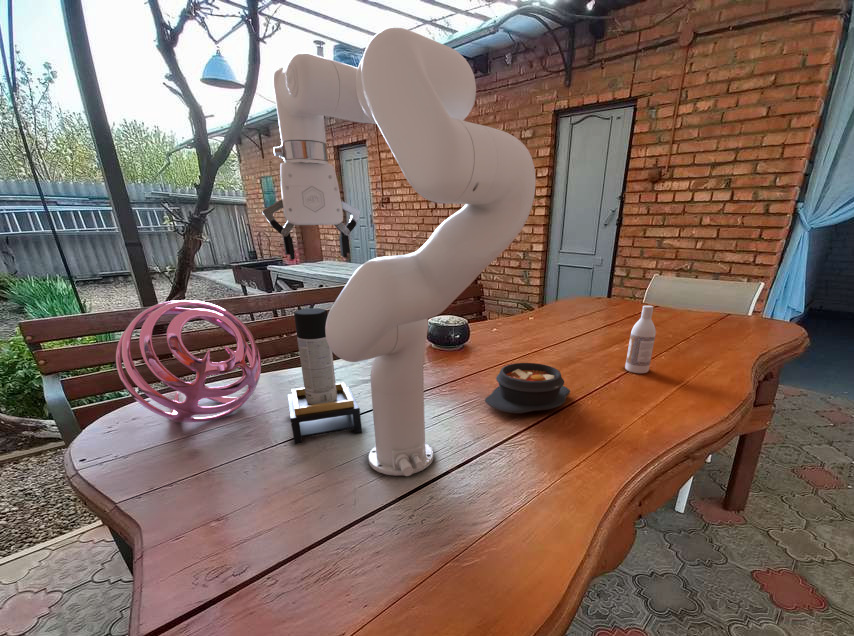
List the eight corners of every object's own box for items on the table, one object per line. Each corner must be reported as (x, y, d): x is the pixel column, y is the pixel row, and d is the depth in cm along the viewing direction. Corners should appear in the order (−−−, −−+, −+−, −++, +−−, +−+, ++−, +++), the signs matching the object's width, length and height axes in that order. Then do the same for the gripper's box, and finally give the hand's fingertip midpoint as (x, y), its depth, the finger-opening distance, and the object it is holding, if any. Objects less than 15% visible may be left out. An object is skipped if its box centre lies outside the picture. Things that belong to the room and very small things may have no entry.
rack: (362, 432, 93) (359, 401, 90) (294, 444, 88) (289, 411, 85) (350, 408, 105) (348, 380, 102) (291, 417, 100) (286, 388, 97)
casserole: (524, 428, 95) (527, 394, 92) (468, 404, 108) (468, 372, 105) (586, 400, 111) (590, 369, 107) (530, 381, 123) (532, 353, 120)
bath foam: (624, 365, 137) (635, 303, 129) (647, 368, 135) (660, 304, 127) (624, 372, 131) (635, 307, 123) (648, 375, 129) (661, 309, 121)
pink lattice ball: (101, 327, 99) (119, 265, 81) (229, 335, 119) (267, 287, 101) (115, 443, 94) (137, 404, 76) (247, 430, 114) (289, 397, 96)
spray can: (342, 395, 97) (332, 307, 89) (331, 407, 91) (319, 314, 83) (314, 394, 98) (301, 307, 90) (301, 406, 92) (287, 313, 84)
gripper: (252, 150, 69) (271, 261, 75) (359, 155, 75) (367, 257, 82) (252, 156, 75) (270, 258, 82) (351, 161, 81) (359, 255, 88)
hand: (319, 258), depth 82 cm, fingers open, 9 cm apart
